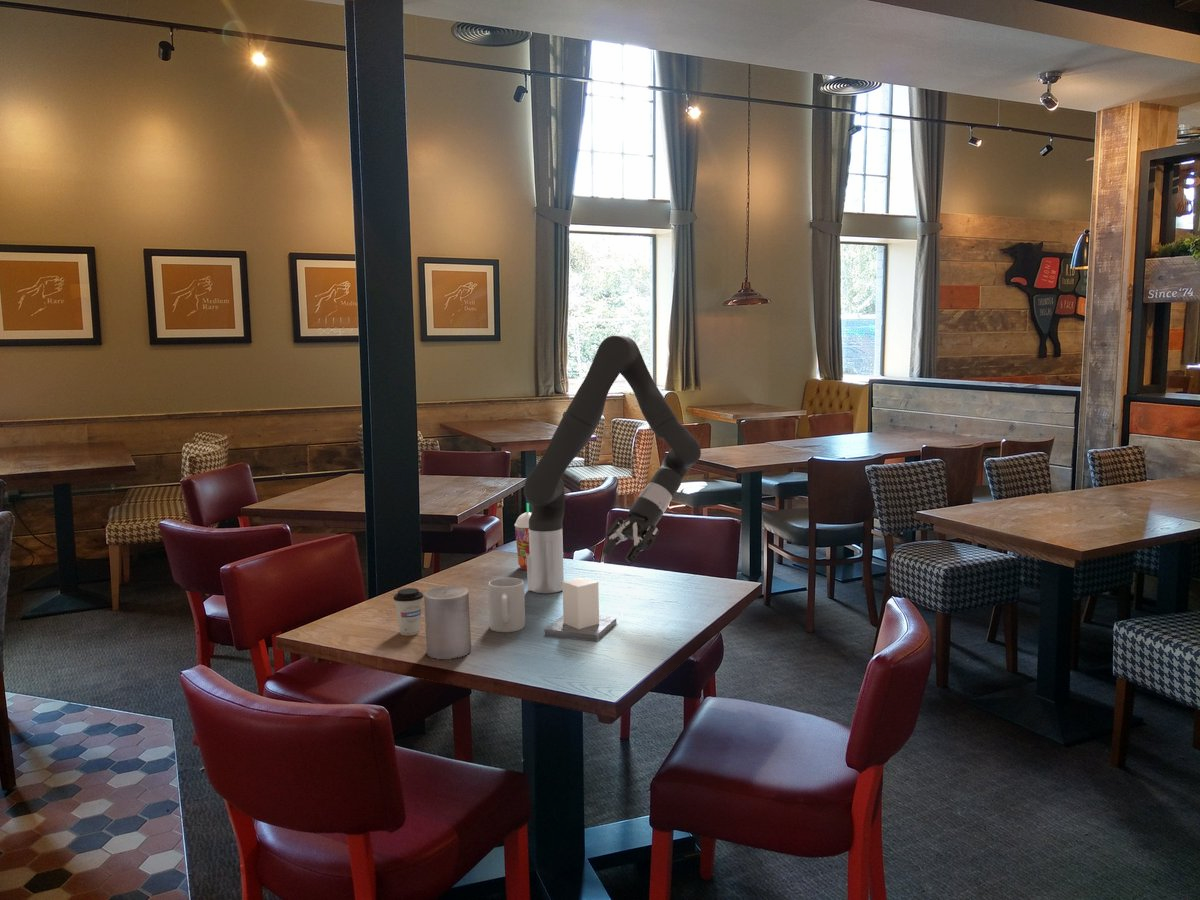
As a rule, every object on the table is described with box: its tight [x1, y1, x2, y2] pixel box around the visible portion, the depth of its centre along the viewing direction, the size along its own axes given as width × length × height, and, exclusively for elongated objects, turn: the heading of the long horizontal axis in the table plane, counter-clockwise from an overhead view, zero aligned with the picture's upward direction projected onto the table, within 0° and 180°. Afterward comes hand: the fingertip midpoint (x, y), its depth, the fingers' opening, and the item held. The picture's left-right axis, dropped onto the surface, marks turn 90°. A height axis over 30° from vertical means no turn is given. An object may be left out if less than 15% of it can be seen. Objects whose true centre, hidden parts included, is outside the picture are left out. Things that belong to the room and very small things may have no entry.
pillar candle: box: [423, 585, 472, 660], centre depth 184 cm, size 10×10×15 cm
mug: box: [487, 577, 526, 633], centre depth 199 cm, size 12×8×11 cm
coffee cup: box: [393, 587, 424, 636], centre depth 198 cm, size 7×7×10 cm
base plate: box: [543, 615, 617, 642], centre depth 197 cm, size 13×13×8 cm
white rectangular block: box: [562, 577, 600, 629], centre depth 197 cm, size 6×6×10 cm
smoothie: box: [514, 502, 532, 571], centre depth 255 cm, size 8×8×20 cm
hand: (616, 557), depth 203 cm, fingers open, 8 cm apart
